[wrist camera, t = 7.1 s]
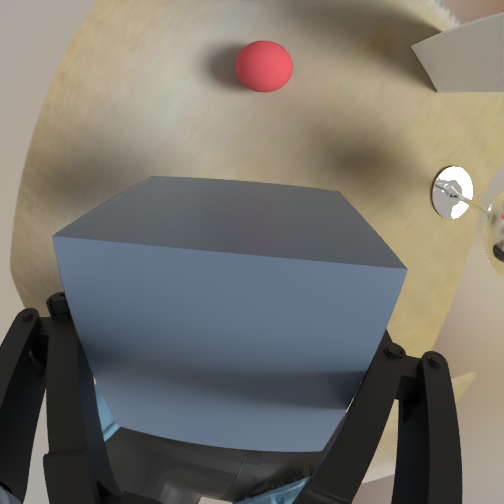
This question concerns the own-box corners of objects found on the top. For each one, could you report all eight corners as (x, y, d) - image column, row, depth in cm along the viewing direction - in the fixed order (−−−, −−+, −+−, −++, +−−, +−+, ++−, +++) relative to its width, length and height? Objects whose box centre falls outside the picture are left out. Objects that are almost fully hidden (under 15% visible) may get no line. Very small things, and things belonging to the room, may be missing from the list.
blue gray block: (307, 338, 19) (321, 451, 11) (161, 323, 19) (117, 425, 12) (338, 191, 15) (407, 269, 7) (152, 176, 15) (52, 235, 7)
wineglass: (469, 226, 29) (562, 305, 13) (420, 224, 29) (515, 317, 13) (479, 163, 25) (591, 215, 9) (429, 154, 26) (552, 205, 10)
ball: (288, 97, 25) (292, 92, 20) (236, 92, 25) (229, 87, 20) (292, 50, 23) (297, 37, 18) (240, 46, 23) (234, 32, 18)
